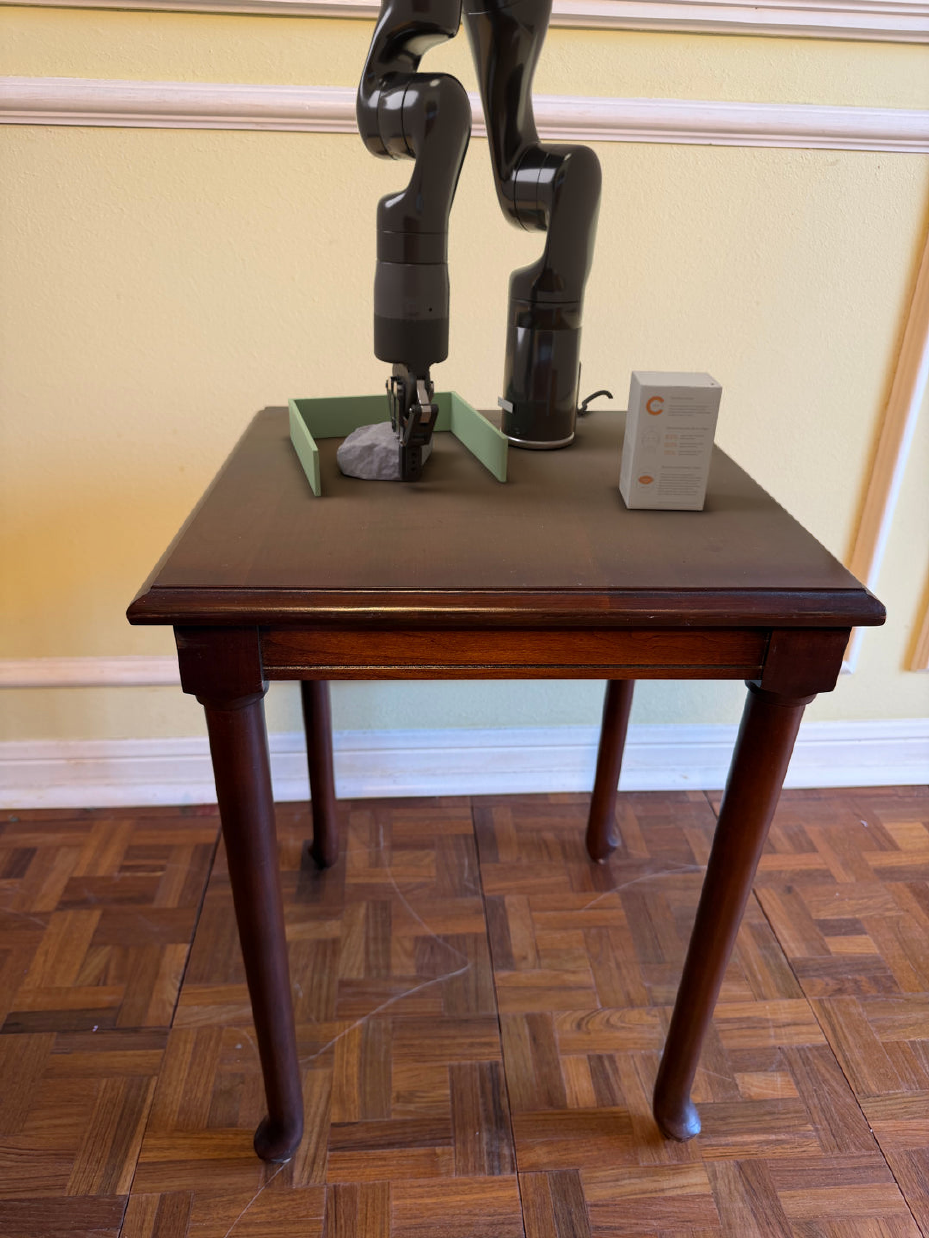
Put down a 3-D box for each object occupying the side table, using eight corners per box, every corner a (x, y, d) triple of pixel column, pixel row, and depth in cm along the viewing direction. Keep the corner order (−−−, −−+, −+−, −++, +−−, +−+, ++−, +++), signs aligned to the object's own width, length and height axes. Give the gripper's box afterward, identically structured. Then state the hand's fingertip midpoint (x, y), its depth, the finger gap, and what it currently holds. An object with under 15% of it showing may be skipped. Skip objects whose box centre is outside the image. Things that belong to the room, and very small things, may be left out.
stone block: (335, 492, 98) (421, 481, 96) (325, 450, 96) (413, 438, 94) (361, 462, 109) (439, 452, 107) (353, 424, 107) (432, 413, 105)
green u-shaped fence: (506, 482, 98) (508, 438, 95) (315, 496, 92) (312, 450, 90) (453, 428, 115) (454, 390, 113) (290, 438, 110) (287, 398, 107)
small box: (690, 490, 97) (709, 371, 91) (703, 512, 91) (724, 386, 85) (617, 488, 97) (630, 369, 91) (625, 509, 91) (641, 384, 85)
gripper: (468, 320, 82) (461, 497, 90) (430, 300, 93) (427, 458, 101) (389, 321, 80) (389, 502, 88) (360, 300, 91) (363, 462, 99)
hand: (409, 478), depth 94 cm, fingers closed
